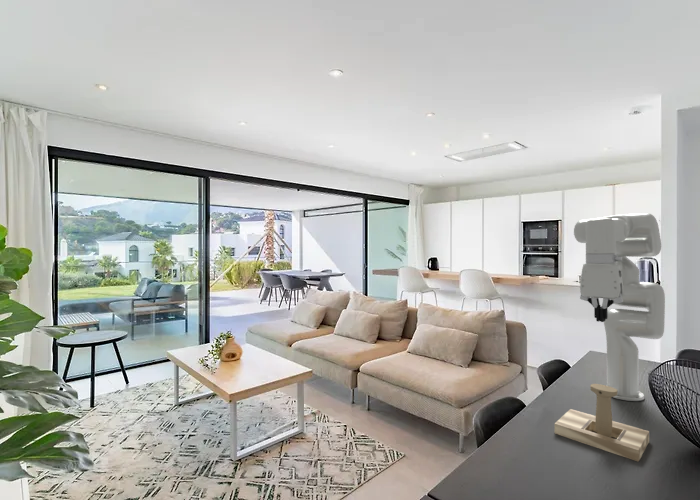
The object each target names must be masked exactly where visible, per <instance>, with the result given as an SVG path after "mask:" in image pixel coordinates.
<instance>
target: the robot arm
mask: <svg viewBox="0 0 700 500" xmlns="http://www.w3.org/2000/svg"><path fill="white" fill-rule="evenodd" d="M573 235H574V236H573V237H574V239H575V240H576V241H577V242H578V243H581V244H585V263H583V264H582V265H583V266H582V269H581V273H580V275H581V276H580V283H579V284H580V287H579V288H580V289H579V291H580V296H579V299H580V300H582V301H585V302H588V303H589V304H591V306H592V308H594V309H593V310H594V311H593V312H594V313H593V316H594V318H595V320H596V322H600V323H603V325H604V330H605V339H606V386H610V387H613V388H615V389H617V390H618V393H617V395H616V396H614V397H612V398H614V399H617V400H622V401H627V402H640V401H643V400H645V394H644V393H643V392H641V391H640V390H639V389H640V386H639V384H640V383H639V382H640V381H639V374H640V373H639V371H640V369H639V368H640V367H639V362H640V361H639V359H640V358H639V355H640V354H639V347H638V345H637V344H636V343H635V341H634V340H633V339H632V338H631V337H633V338H642V339H649V340H659V339H661V338H663V336H664V333H665V315H666V313H665V312H666V311H665V310H666V309H665V308H666V296H665V295H666V294H665V291H664V288H663V286H662V285H661V284H659V283H655V282H647V281H646V282H645V281H640V268H639V267H638V266H637V265H636V264H635V262H634V261H632V260H631V259H630V257H635V258H636V257H637V258H639V257H640V258H641V257H643V258H644V257H645V258H650V257H656V256H658V255H659V254H660V253H661V250H662V239H661V233H660V228H659V224H658V220H657V218H656V216H655V215H653V214H652V213H648V212H647V213H646V212H645V213H642V212H641V213H628V214H627V213H624V214H615V215H609V216H602V217H594V218H586V219H580V220H578V221H577V222H576V223H575V225H574V228H573ZM600 299H602V304H600ZM612 305H615V306H618V307H627V308H636V310H635V309H624V308H611V309H608V308H609V307H611V306H612ZM638 308H639V309H645V310H637V309H638Z"/></svg>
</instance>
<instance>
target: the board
mask: <svg viewBox="0 0 700 500" xmlns="http://www.w3.org/2000/svg"><path fill="white" fill-rule="evenodd" d="M554 434H555V435H558V436H560V437H564V438H567V439H569V440H572V441H576V442H579V443H582V444H585V445H588V446H591V447H593V448H597V449H599V450H602V451H605V452H609V453H611V454H614V455H617V456H620V457H624V458H625V459H629V460H632V461H635V462H640V460H641V458H642V457H643V454H644V453H645V451H646V449H647V446H648V445H649V443H650V431H649V430H647V429H646V430H645V429H644V428H643V429H642V428H639V427H636V426H633V425H629V424H625V423H621V422H618V421H614V420H612V434H611V438H610V437H607V436H604V435H600V434H598V433H597V431H596V415H594V414H590V413H586V412H583V411H579V410H575V409H572V408H570V409H569V410H568V411H566V412H565V413H564V414H563V415H562V416H561V417H560V418H559V419H558V420H556V421H555V422H554Z"/></svg>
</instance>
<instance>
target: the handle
mask: <svg viewBox="0 0 700 500" xmlns="http://www.w3.org/2000/svg"><path fill="white" fill-rule="evenodd" d="M606 385H607V384H606ZM606 385H604V384H600V383H591V384H590V385H589V387H590V391H591V392H592V393H595V395H596V404H595V405H596V407H595V416H596V431H597V432H596V433H597V434H600V435H604V436H607V437H610V438H612V437H611V434H612V421H613V413H612V411H613V410H612V398H613V397H614V396H616V395H617V393H618V390H617V389H615V388H613V387H610V386H606Z"/></svg>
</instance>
